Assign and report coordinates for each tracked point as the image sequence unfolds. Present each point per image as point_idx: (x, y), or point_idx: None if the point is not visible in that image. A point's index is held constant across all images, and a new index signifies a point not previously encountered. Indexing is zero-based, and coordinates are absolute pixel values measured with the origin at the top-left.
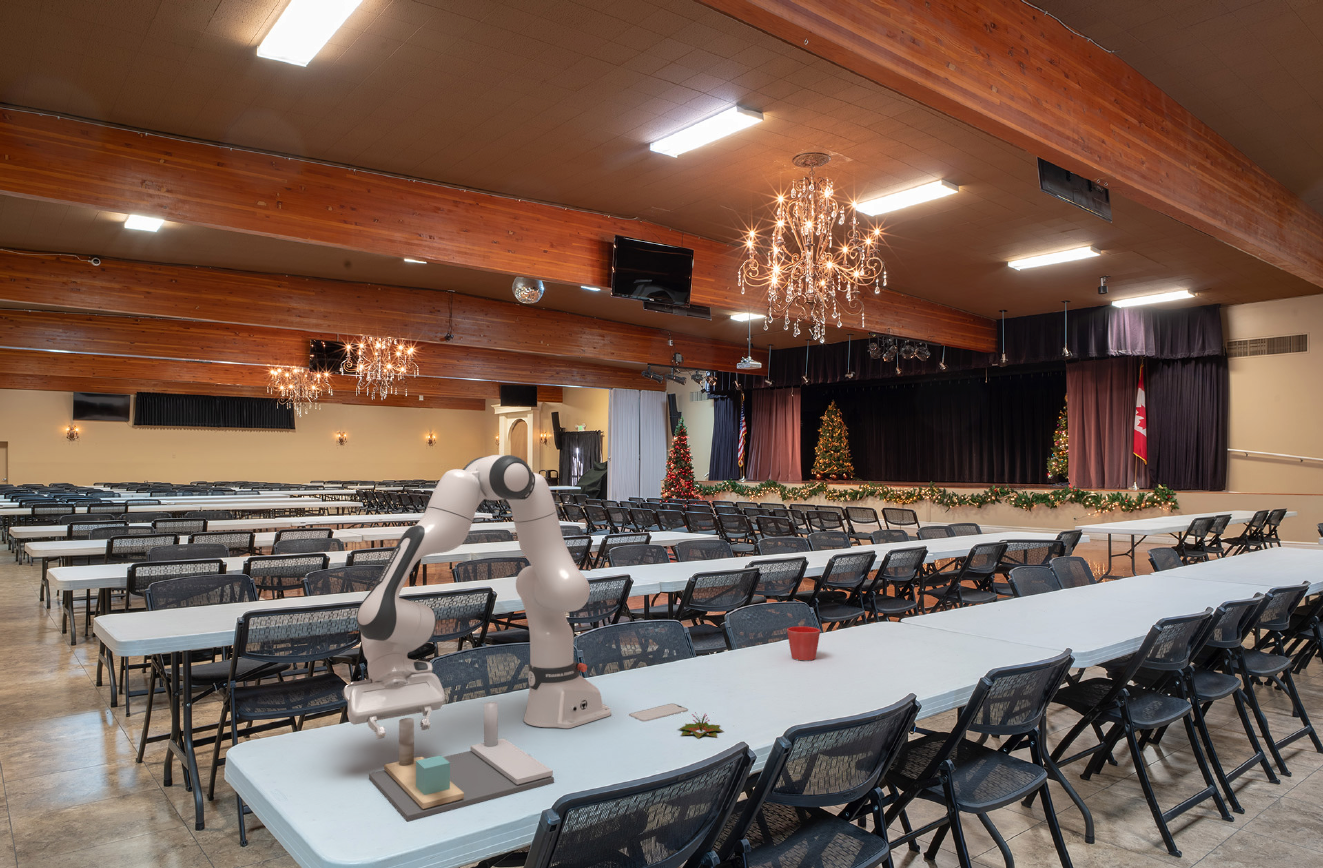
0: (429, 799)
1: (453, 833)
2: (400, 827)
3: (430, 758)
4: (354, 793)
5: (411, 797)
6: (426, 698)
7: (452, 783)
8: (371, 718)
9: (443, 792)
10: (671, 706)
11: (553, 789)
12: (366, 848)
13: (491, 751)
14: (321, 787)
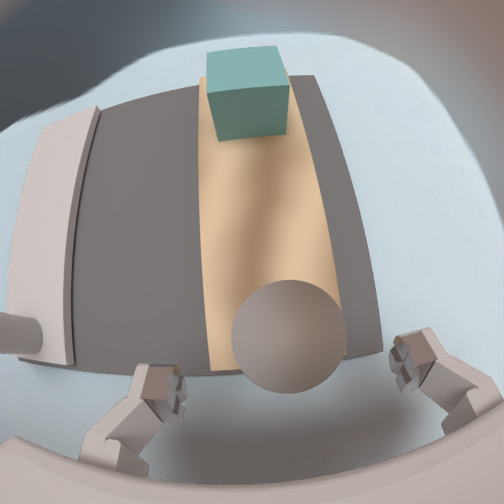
0: None
1: (253, 41)
2: (325, 74)
3: (243, 84)
4: (415, 257)
5: None
6: (73, 499)
7: (199, 119)
8: (491, 393)
9: None
10: None
11: (70, 114)
12: (369, 57)
13: (44, 282)
14: (469, 333)
